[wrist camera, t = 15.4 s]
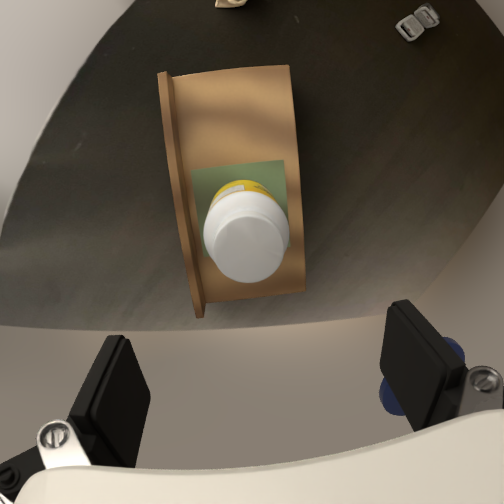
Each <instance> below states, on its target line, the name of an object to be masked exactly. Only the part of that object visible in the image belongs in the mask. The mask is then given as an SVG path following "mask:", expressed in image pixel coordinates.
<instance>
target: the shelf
mask: <svg viewBox="0 0 504 504" xmlns="http://www.w3.org/2000/svg"><path fill="white" fill-rule="evenodd" d="M158 84H159V94H160V103H161V112H162V121H163V129H164V137H165V145H166V152H167V159H168V166H169V173H170V180H171V187H172V193H173V199H174V205H175V211H176V217H177V223H178V229H179V235H180V240H181V246H182V251H183V256H184V261H185V267H186V272H187V277H188V282H189V287H190V291H191V296H192V301H193V306H194V310H195V315H196V318H204V312H205V305H206V303H213V302H222V301H231V300H240V299H248V298H257V297H265V296H273V295H281V294H288V293H296V292H303V291H306V274H305V251H304V231H303V214H302V198H301V184H300V171H299V158H298V147H297V136H296V125H295V115H294V105H293V96H292V87H291V78H290V70H289V65H276V66H259V67H247V68H236V69H227V70H218V71H211V72H203V73H197V74H190V75H184V76H178V77H173V78H172V77H171V76H170V75H169V74H168V73H167V72H162V73H158ZM239 179H248V180H253V181H256V182H258V183H260V184H262V185H263V186H265V187H266V188H267V189H268V190H269V191H270V192H271V194H272V195H273V197H274V198H275V200H276V201H277V203H278V204H279V206H280V207H281V209H282V210H283V212H284V214H285V216H286V218H287V221H288V225H289V242H288V246H287V249H286V251H285V253H284V256H283V259H282V262H281V264H280V266H279V267H278V269H277V270H276V271H275V272H274V273H273V274H272V275H271V276H269V277H268V278H266V279H264V280H262V281H259V282H254V283H242V282H237V281H234V280H232V279H230V278H228V277H227V276H225V275H224V274H223V273H222V272H221V271H220V269H219V268H218V267H217V265H216V263H215V262H214V261H213V259H212V258H211V257H210V255H209V253H208V251H207V249H206V247H205V243H204V236H203V231H204V224H205V220H206V217H207V214H208V211H209V208H210V205H211V202H212V200H213V198H214V196H215V194H216V193H217V192H218V190H219V189H220V188H221V187H223V186H224V185H225V184H227V183H229V182H231V181H234V180H239Z"/></svg>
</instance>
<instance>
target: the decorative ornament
mask: <svg viewBox="0 0 504 504" xmlns="http://www.w3.org/2000/svg"><path fill="white" fill-rule="evenodd" d="M246 1H247V0H216V3H215V7H238V6H242V5H244V4H245V3H246Z"/></svg>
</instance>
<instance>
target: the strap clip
mask: <svg viewBox="0 0 504 504" xmlns="http://www.w3.org/2000/svg"><path fill="white" fill-rule="evenodd" d="M425 6H428V7H429V8H430V9H431V10H430V9H429V8H428V7H425ZM414 14H415V16H416V17H417V18H416V17H415V16H413V15H410V16H408V17H406V18H405V19H403V20H401V21H400V22H398V24H397V25H396V29H397V30H398V31H399V32H400V34H401V35H402V36H403V37H404V38H405V39H406V40H407V41H412V40H414V39H416V38H417V37H418V36H419V35H420V34H421V33H422V32H423V31H424V27H426V28H430V27H434V26H436V25H438V24H439V20H438V19H439V15H438V13H437V12H436V11H435V10H434V9H433V7H432V6H431V5H430V4H429V3H426V4H423V5H422V6H420V7H419V8H418V9H417V10H416V11H415V12H414ZM418 20H419V21H420V22H421V23H422V24H421V23H420V22H419V21H418ZM435 22H436V23H435ZM400 25H402V26H403V27H404V28H405V30H406V31H407V32H408V33H409V34H410V35H411V37H412V38H409V37H408V35H407V34H406V33H405V32H404V31H403V30H402V28H401V27H400ZM423 26H424V27H423Z"/></svg>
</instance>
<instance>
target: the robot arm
mask: <svg viewBox="0 0 504 504" xmlns="http://www.w3.org/2000/svg"><path fill="white" fill-rule="evenodd" d="M465 365H466V364H465V363H464V361H463V360H462V359H461V358H460V357H459V356H458V354H457V353H456V352H455V351H454V350H453V349H452V347H451V346H450V345H449V344H448V343H447V342H446V341H445V339H444V338H443V337H442V336H441V335H440V334H439V333H438V332H437V330H436V329H435V328H434V327H433V326H432V325H431V324H430V323H429V322H428V320H427V319H425V317H424V316H423V315H422V314H421V313H420V312H419V311H418V310H417V309H416V307H415V306H414V305H413V304H412V303H411V302H410V301H409V300H407V299H405V300H400V301H395V302H393V303H392V304H391V306H390V307H388V309H387V317H386V325H385V332H384V339H383V346H382V352H381V358H380V369H381V372H382V373H383V375H384V377H385V379H386V381H387V383H388V384H389V386H390V388H391V390H392V392H393V393H394V395H395V397H396V399H397V401H398V403H399V404H400V406H401V408H402V410H403V412H404V414H405V415H406V417H407V419H408V421H409V423H410V425H411V427H412V429H413V431H414V433H411V434H407V435H404V436H401V437H398V438H394V439H391V440H388V441H384V442H381V443H377V444H374V445H370V446H366V447H362V448H358V449H354V450H350V451H346V452H342V453H337V454H332V455H327V456H322V457H317V458H312V459H306V460H300V461H294V462H287V463H280V464H272V465H264V466H253V467H242V468H229V469H209V470H162V469H138V468H135V465H136V460H137V456H138V451H139V447H140V442H141V438H142V433H143V429H144V425H145V421H146V416H147V412H148V408H149V404H150V391H149V389H148V386H147V384H146V381H145V379H144V376H143V374H142V371H141V369H140V366H139V364H138V361H137V359H136V356H135V353H134V351H133V348H132V345H131V342H130V340H129V339H125V337H124V336H123V335H109V336H107V338H106V340H105V341H104V343H103V345H102V347H101V349H100V351H99V353H98V355H97V357H96V359H95V361H94V363H93V365H92V367H91V369H90V371H89V373H88V375H87V377H86V379H85V381H84V383H83V385H82V387H81V389H80V392H79V393H78V396H77V398H76V400H75V402H74V404H73V406H72V408H71V411H70V413H69V416H68V418H67V420H66V421H65V420H61V419H57V420H52V421H49V422H47V423H45V424H44V425H43V426H42V427H41V428H40V429H39V431H38V432H37V435H36V443H37V445H36V446H35V447H33V448H31V449H29V450H27V451H25V452H23V453H21V454H20V455H17V456H15V457H13V458H11V459H9V460H8V461H5V462H3V463H2V464H0V504H504V386H503V378H502V377H501V375H500V374H499V373H498V372H497V371H496V370H494V369H493V368H491V367H487V366H476V367H473V368H471V369H470V370H468V368H467V367H466V366H465Z"/></svg>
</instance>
